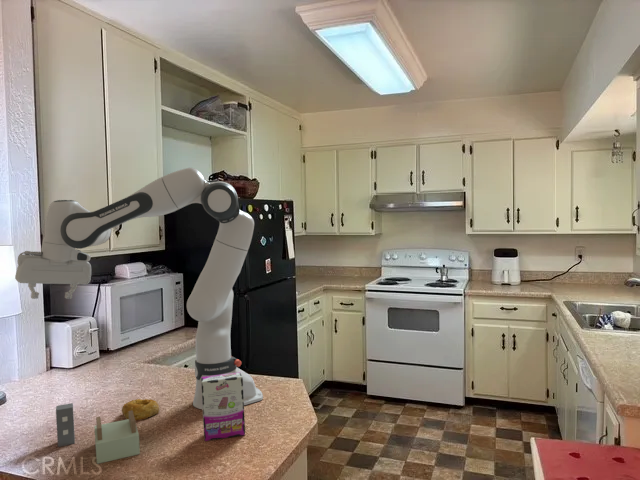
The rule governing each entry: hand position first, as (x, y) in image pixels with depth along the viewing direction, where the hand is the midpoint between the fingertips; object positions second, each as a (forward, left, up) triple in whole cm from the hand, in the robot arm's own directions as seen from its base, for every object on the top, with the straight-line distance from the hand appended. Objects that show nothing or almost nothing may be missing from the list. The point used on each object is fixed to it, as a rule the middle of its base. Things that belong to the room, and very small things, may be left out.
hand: (51, 298), depth 145 cm
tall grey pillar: (-3, +19, -37) cm, 42 cm away
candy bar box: (-42, +36, -37) cm, 66 cm away
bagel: (-23, +9, -38) cm, 45 cm away
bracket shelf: (-15, +30, -37) cm, 50 cm away
